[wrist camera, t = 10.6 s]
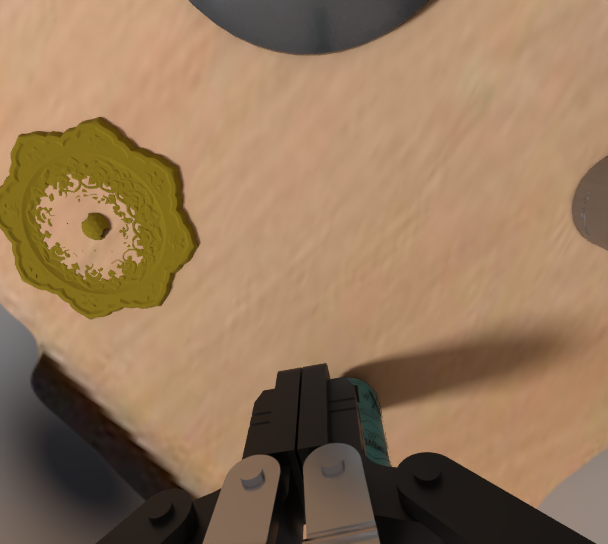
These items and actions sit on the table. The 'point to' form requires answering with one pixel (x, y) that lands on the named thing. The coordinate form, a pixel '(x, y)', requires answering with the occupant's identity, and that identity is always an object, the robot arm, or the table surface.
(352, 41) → the turntable
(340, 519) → the robot arm
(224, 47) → the table surface
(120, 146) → the decorative medallion
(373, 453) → the beverage bottle
